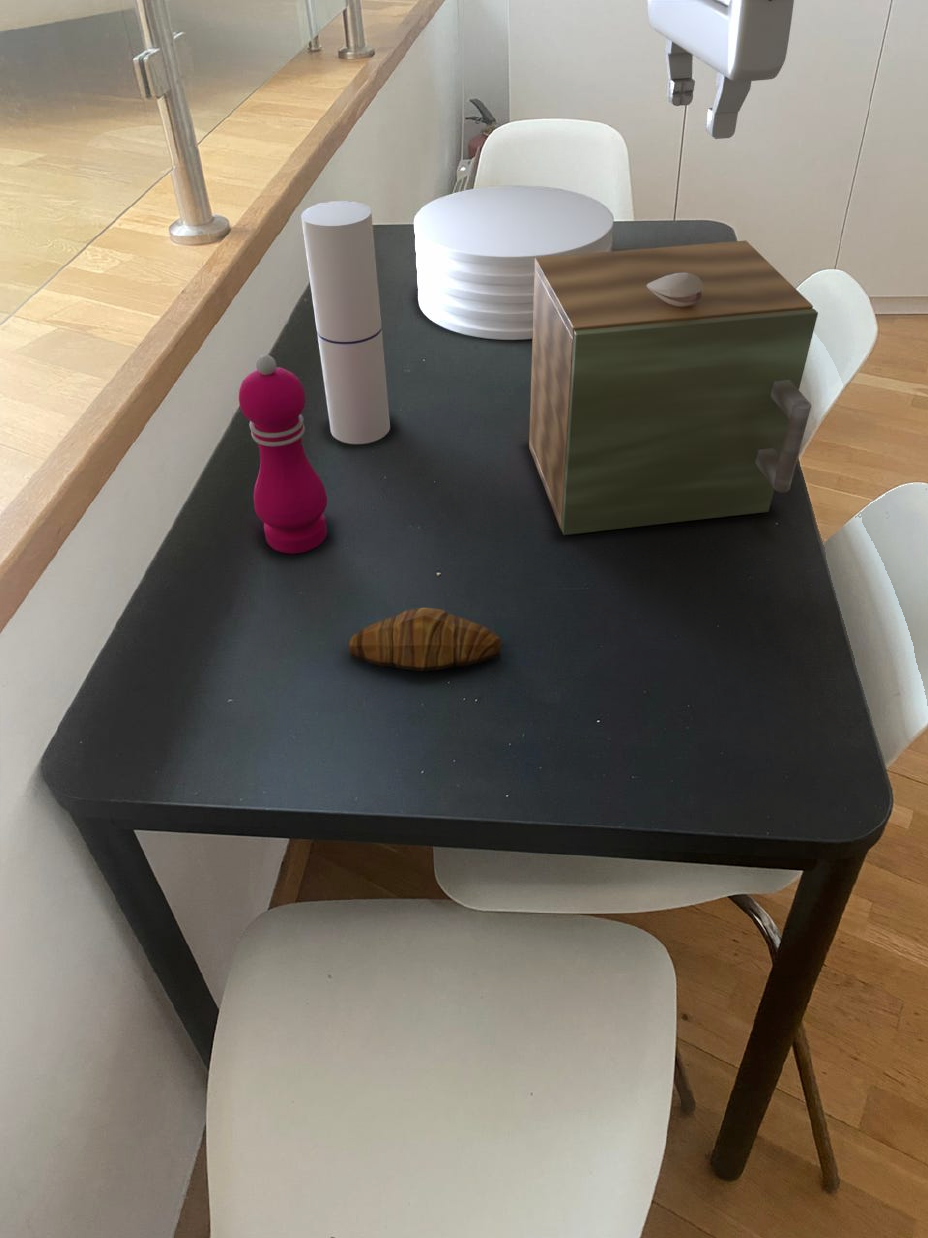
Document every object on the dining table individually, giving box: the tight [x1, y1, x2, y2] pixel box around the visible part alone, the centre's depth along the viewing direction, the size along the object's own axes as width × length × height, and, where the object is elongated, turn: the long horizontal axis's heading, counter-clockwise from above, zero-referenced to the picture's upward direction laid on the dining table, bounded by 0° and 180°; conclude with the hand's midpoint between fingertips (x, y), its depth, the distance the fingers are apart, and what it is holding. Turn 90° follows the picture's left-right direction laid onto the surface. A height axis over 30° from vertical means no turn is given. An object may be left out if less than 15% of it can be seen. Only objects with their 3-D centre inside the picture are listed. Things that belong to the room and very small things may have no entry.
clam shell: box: [647, 273, 703, 307], centre depth 82 cm, size 4×5×2 cm
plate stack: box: [413, 184, 615, 341], centre depth 133 cm, size 28×28×12 cm
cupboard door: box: [561, 308, 819, 536], centre depth 86 cm, size 6×22×22 cm, turn 99°
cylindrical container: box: [300, 200, 391, 445], centre depth 102 cm, size 7×7×25 cm
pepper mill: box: [238, 354, 328, 554], centre depth 88 cm, size 7×7×20 cm
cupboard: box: [528, 240, 814, 531], centre depth 94 cm, size 16×22×22 cm
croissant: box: [348, 607, 503, 673], centre depth 80 cm, size 14×7×5 cm, turn 89°
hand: (697, 118), depth 73 cm, fingers open, 8 cm apart
